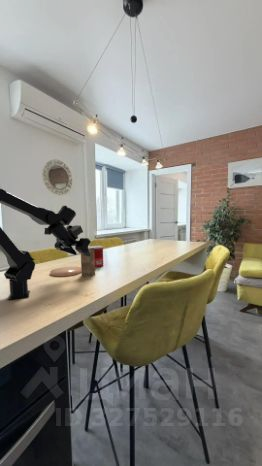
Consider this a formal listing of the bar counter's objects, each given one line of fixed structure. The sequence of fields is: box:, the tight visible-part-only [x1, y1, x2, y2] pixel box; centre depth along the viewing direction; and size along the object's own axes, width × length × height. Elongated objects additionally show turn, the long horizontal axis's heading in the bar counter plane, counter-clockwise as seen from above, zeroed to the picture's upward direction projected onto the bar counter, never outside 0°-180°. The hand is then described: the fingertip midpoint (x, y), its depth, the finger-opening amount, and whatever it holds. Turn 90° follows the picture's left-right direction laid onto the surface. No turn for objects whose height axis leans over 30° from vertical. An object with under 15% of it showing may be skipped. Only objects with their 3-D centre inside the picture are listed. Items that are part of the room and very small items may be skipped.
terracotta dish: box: [49, 266, 82, 278], centre depth 112 cm, size 16×16×1 cm
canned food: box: [90, 245, 104, 268], centre depth 125 cm, size 8×8×11 cm
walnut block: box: [80, 246, 96, 277], centre depth 105 cm, size 4×4×13 cm
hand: (82, 255), depth 103 cm, fingers open, 9 cm apart
